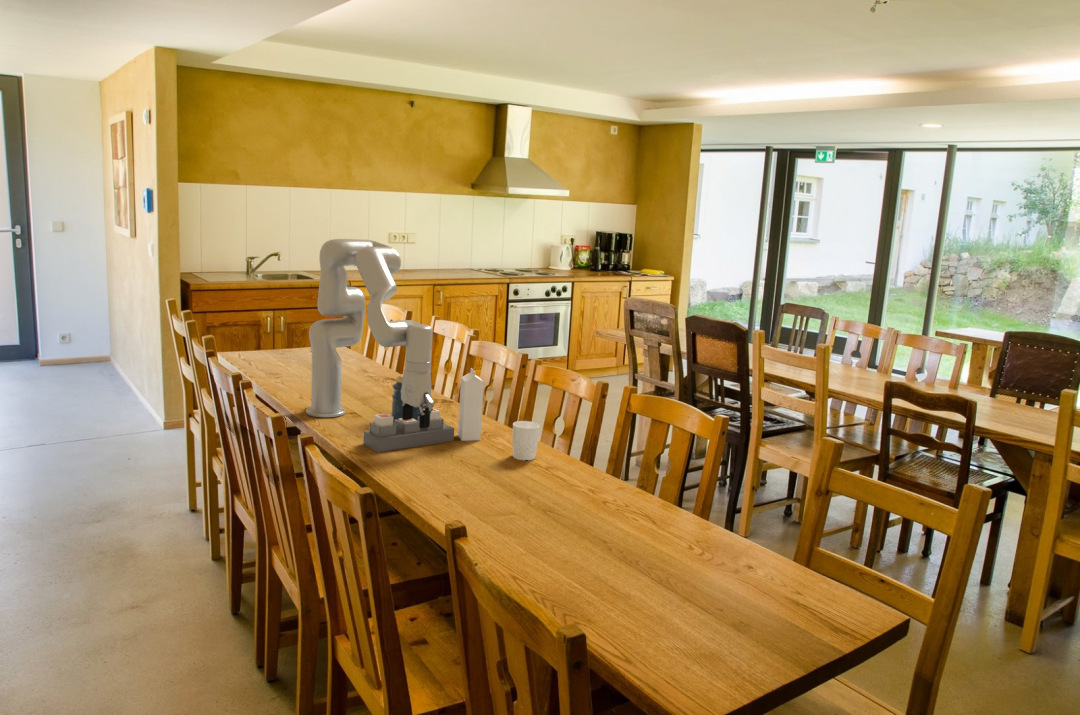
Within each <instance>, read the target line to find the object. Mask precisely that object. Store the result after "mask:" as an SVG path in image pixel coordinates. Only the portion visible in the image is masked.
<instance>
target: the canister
mask: <svg viewBox="0 0 1080 715" xmlns="http://www.w3.org/2000/svg"><path fill="white" fill-rule="evenodd" d="M403 374H404V373H401V374H399V376H397V377H396V378H395V379H394V380H395V383H393V385H392V388H393V393H392V394H391V398H392V401H391V404H392V406H391V407H392V408H391V414H390V415H391V416H393V423H394V420H396V419H400V418H402V414H403V407H404V406H402V400H401V389H402V380H403ZM432 389H433V386H432V385H431V390H432ZM432 398H433V397H432V395H431V399H432ZM425 408H426V407H423V409H425ZM420 415H421V412H420V409H419V407H413V419H415V420H417V417H419V416H420Z"/></svg>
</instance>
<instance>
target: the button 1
mask: <svg viewBox="0 0 1080 715" xmlns="http://www.w3.org/2000/svg"><path fill="white" fill-rule="evenodd" d="M373 420H374V424H375V425H376V426H378V427H387V426H393V424H394V422H393V416H391V414H389V413H381V414H380V413H379V414H374V419H373Z"/></svg>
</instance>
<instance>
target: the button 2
mask: <svg viewBox="0 0 1080 715" xmlns="http://www.w3.org/2000/svg"><path fill="white" fill-rule="evenodd" d="M398 421H399V422H401V423H403V424H409V423H417V420H415V419H413V418H412V419H406V420H403V419H402V418H400V419H398Z"/></svg>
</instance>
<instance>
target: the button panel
mask: <svg viewBox="0 0 1080 715" xmlns="http://www.w3.org/2000/svg"><path fill="white" fill-rule="evenodd" d="M419 419H420V416H419V417H417V423H409V424H403V423H401V422H399V421H398V419H396V420H394V422H393V426H387V427H378V426H376V425H375V424H374V422H369V429H368V430H364V431H363V443H362V444H363V445H364V446H366V447H368V448H369V449H371V450H373V451H374V452H375V453H384V452H391V451H396V450H403V449H404V450H405V449H409V448H415V447H422V446H428V445H435V444H441V443H442V444H443V443H447V442H454V440H455V427H453V426H452V425H449V424H446V423H444V418H442V417H440V419H439V420H432V421H430V426H429V427H426V428H419Z"/></svg>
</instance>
